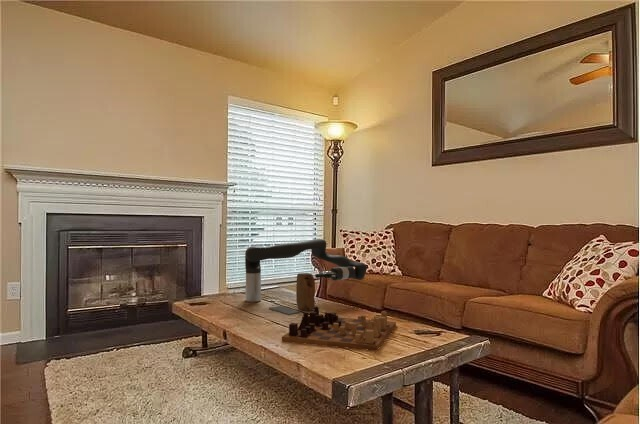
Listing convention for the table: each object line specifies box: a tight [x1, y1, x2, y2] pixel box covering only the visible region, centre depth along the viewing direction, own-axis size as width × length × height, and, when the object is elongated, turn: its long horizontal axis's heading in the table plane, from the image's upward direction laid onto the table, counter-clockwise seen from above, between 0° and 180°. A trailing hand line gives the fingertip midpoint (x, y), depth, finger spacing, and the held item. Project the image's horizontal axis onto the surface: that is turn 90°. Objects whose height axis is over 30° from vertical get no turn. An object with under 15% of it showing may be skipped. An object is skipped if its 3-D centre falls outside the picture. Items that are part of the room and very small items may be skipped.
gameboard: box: [281, 305, 397, 351], centre depth 190 cm, size 40×40×9 cm
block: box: [295, 272, 316, 312], centre depth 239 cm, size 11×8×20 cm
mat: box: [268, 305, 301, 316], centre depth 236 cm, size 20×8×1 cm, turn 37°
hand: (316, 276), depth 243 cm, fingers closed
